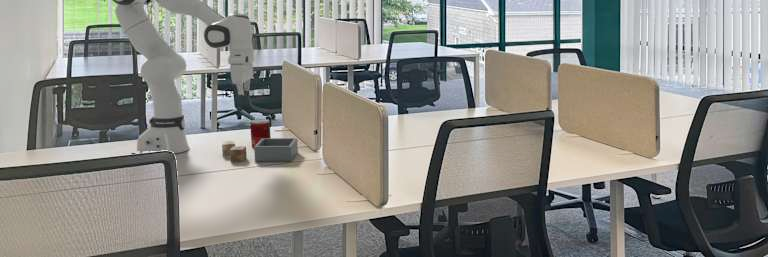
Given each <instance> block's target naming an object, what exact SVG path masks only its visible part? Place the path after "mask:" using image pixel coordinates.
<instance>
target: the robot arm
mask: <svg viewBox="0 0 768 257" xmlns="http://www.w3.org/2000/svg"><path fill="white" fill-rule="evenodd" d="M151 1H152V0H112V2H113V3H116V4H117V5H116V6H115V10H114V13H115V17H116V19H117V21H118V24H119V25H120V28H121V29H122V31H123V32H124V34H125V36H126V37H127V38H128V40H129V42H130V43H131V45H132V47H133V48H134V50H135V51H136V52H137V53H139V54H141V55H142V56H143V57H144V58H145V59H146V61H145V62H143V64H142V66H141V69H140V74H141V78H142V79H143V81H145V83H147V87H148V89H149V92H150V95H151V100H152V106H153V108H152V109H153V116H152V117H151V118H150V119H149V120H148V124H150V126H149V127H148V128H147V129H146V130H144V131H143V133H141V134H140V135H139V136H138V137H137V142H136V147H134V148H133V149H132V150H136V151H140V153H142V152H143V151H149V152H150V151H161V150H168V151H172V152H174V153H175V154H179V153H184V152H187V151H188V150H190V146H189V143H188V141H187V135H186V131H185V128H186V122H185V117H184V114H183V104H182V103H183V102H182V96H181V94H180V93H179V91H178V89H177V86H176V84H175V83H176V82H175V80H178V79H179V78H181V77H182V76H183V75H184V73H186V70H187V62H186V60H185V58H184V57H183V56H182V55H180V54H178V53H177V52H176V51H175V50H174V49H173V48H172V47H171V46H170V45H169V43H167V42H166V40H165V39H163V37H162V36H161V35H160V32H159V31H158V30H157V28H156V26H155V25H154V24H153V22H152V21H151V19H150V17H149V16H148V14H147V13H146V11H145V8H144V7H145V5H146V6H147V5H149V4H150V3H151ZM154 1H155V2H156V3H157V4H158V5H159V6H161V7H162V8H164V9H165V10H167V11H168V12H170V13H171V14H172V13H173V14H177V15H178V14H179V15H187V16H190V17H194V18H196V19H198V20H199V21H201V22H202V23H203V24H205V25H206V27H205V30H204V32H203V37H204V41H205V43H206V44H207V45H208V46H209V47H210V48H212V49H222V48H227V47H228V48H229V56H228V58H227V63H228V65H229V70H230V79H231V82H232V85H236V89H237V92H238V93H237V94H238V96H243V95H244V93H245V91H246V92H248V91H250V87H251V86H250V85H251V79H252V78H253V77H254V66H253V65H254V64H253V62H254V60H255V59H254V58H255V57H254V46H253V43H252V42H253V29H252V23H251V19H250V17H249V16H248V15H246V14H242V13H236V12H234V13H229V15H227V17H224V15H223V16H222V15H221V14H220V13H218V11H216V10H214V9H213V8H212V7H210V6H209V5H208V4H206V3H204V2H203V1H202V0H154Z"/></svg>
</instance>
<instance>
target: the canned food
mask: <svg viewBox="0 0 768 257" xmlns="http://www.w3.org/2000/svg"><path fill="white" fill-rule="evenodd" d="M262 138H271V123H270V119H267V118H254V119H251V120H250V142H251V147H252V148H253V149H254V146H255V145H256V144H257V143H258V142H259V141H260V140H261V139H262Z"/></svg>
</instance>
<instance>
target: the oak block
mask: <svg viewBox="0 0 768 257" xmlns="http://www.w3.org/2000/svg"><path fill="white" fill-rule="evenodd" d="M232 147H236V140H225V141H221V148H222V157H225V158H226V157H230V149H231V148H232Z"/></svg>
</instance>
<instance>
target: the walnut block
mask: <svg viewBox="0 0 768 257" xmlns="http://www.w3.org/2000/svg"><path fill="white" fill-rule="evenodd" d="M229 157H230V158H229V159H230V163H245V161H246V160H247V158H248V157H247V146H245V145H244V146H238V145H237V146H235V147H232V148H231V149H230V156H229Z"/></svg>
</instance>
